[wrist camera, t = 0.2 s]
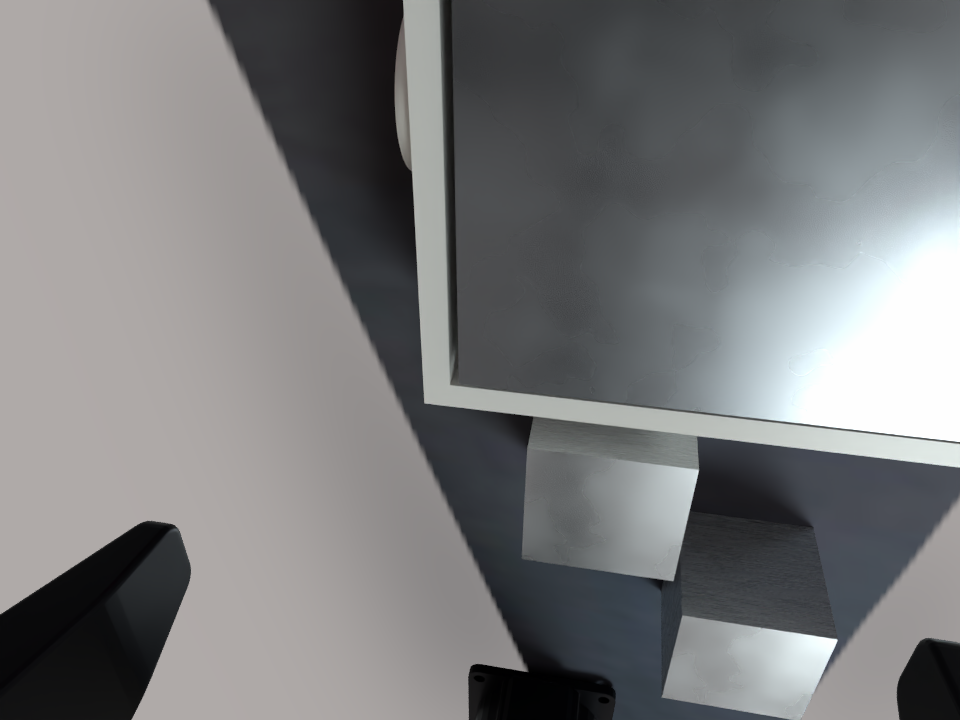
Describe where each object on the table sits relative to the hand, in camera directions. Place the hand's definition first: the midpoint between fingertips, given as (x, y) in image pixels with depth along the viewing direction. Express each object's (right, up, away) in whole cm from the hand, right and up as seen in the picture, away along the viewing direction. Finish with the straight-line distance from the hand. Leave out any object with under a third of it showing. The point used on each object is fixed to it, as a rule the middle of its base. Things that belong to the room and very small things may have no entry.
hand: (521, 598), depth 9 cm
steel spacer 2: (+9, -4, +19) cm, 21 cm away
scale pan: (+5, +7, +6) cm, 11 cm away
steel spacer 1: (+4, +1, +16) cm, 16 cm away
